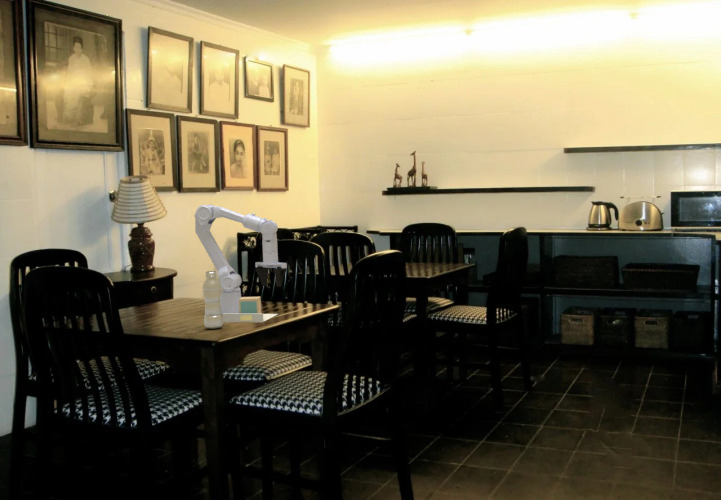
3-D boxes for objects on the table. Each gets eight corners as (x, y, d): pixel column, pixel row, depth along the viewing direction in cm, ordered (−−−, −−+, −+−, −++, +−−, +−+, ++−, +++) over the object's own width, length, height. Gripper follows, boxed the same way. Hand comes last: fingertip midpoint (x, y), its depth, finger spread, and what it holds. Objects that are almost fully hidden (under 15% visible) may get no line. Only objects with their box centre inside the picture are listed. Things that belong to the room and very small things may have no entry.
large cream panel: (222, 323, 265) (222, 313, 265) (241, 315, 283) (241, 306, 282) (262, 323, 262) (261, 313, 262) (278, 315, 280) (278, 306, 279)
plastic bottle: (214, 326, 260) (211, 270, 259) (227, 327, 256) (224, 271, 255) (200, 329, 255) (197, 272, 254) (212, 330, 251) (209, 272, 250)
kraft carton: (242, 318, 271) (241, 297, 271) (261, 318, 271) (260, 296, 270) (239, 320, 266) (238, 299, 266) (258, 320, 266) (257, 298, 265)
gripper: (249, 252, 286) (250, 286, 287) (277, 252, 278) (278, 288, 279) (261, 250, 292) (263, 284, 293) (289, 251, 283) (290, 286, 284)
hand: (271, 286), depth 286 cm, fingers open, 7 cm apart
